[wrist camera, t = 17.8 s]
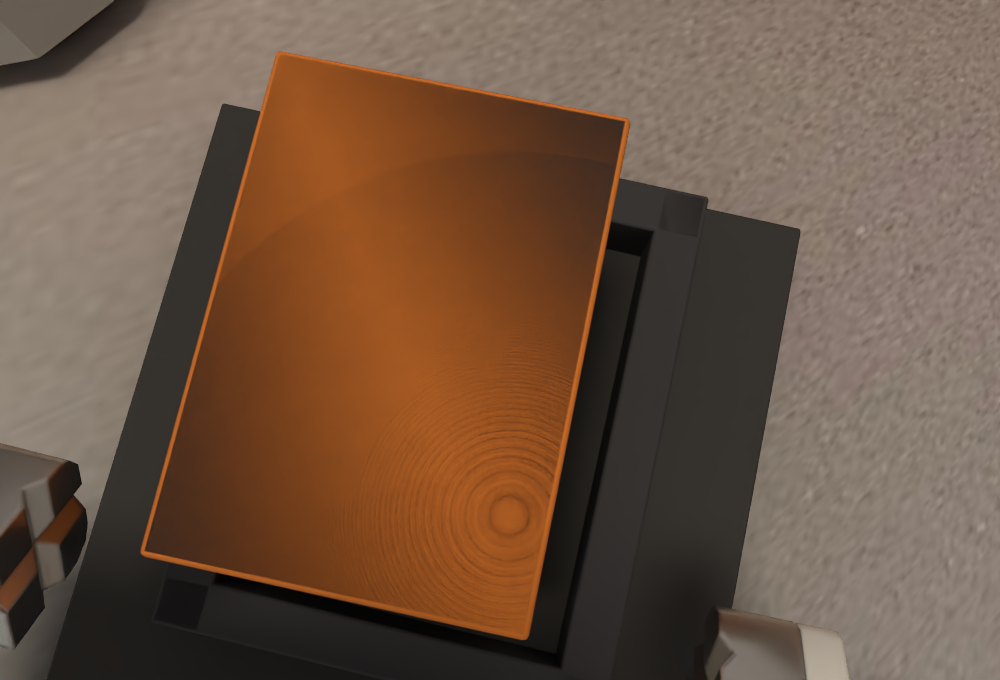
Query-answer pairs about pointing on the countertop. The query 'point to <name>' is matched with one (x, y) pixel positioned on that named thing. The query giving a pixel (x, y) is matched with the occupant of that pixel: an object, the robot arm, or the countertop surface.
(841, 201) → the countertop surface
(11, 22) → the jar
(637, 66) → the countertop surface
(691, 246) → the base pad
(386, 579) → the pad block
